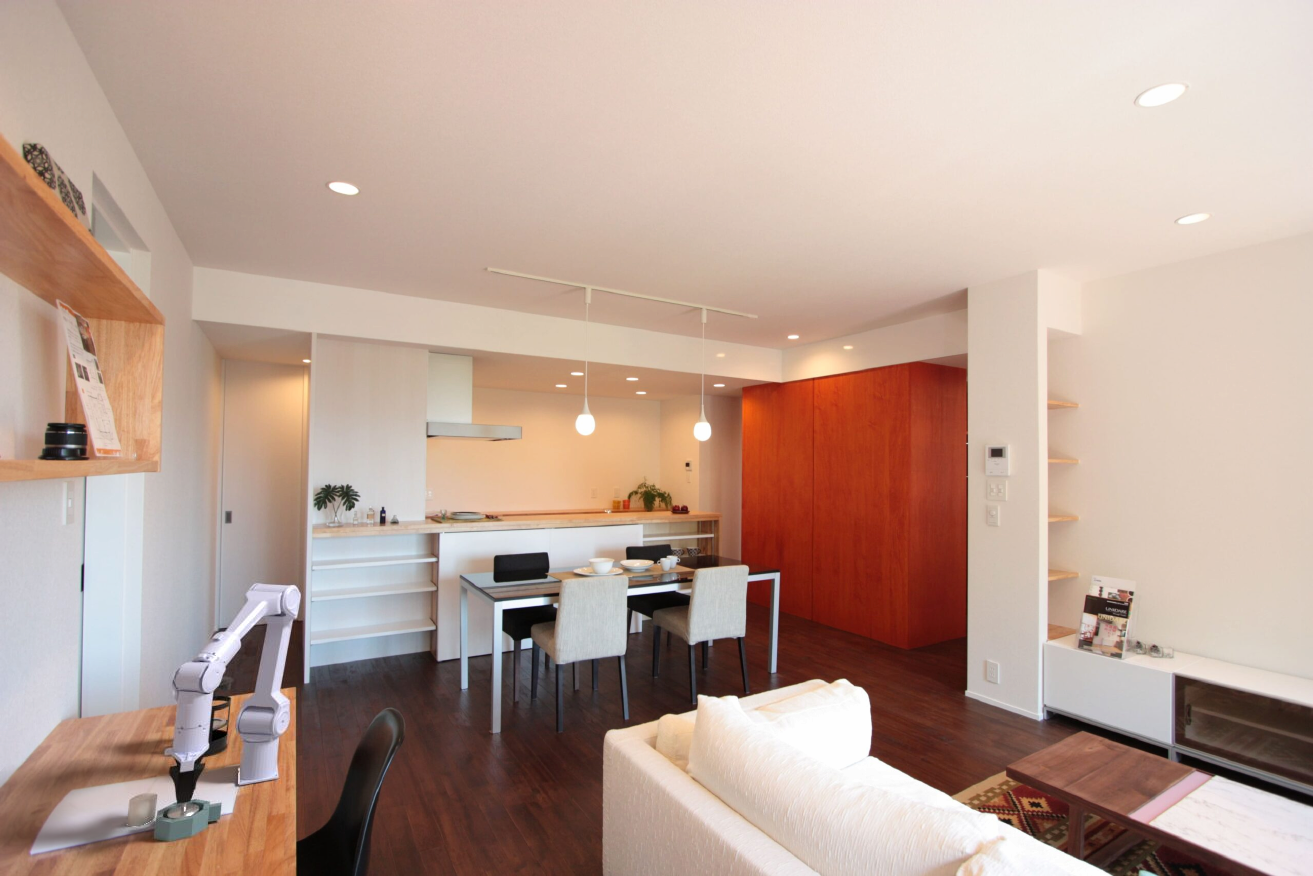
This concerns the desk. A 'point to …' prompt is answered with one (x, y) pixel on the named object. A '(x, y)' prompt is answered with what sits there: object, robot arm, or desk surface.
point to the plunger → (183, 811)
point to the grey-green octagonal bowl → (185, 821)
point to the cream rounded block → (142, 809)
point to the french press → (219, 721)
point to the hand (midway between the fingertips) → (185, 795)
